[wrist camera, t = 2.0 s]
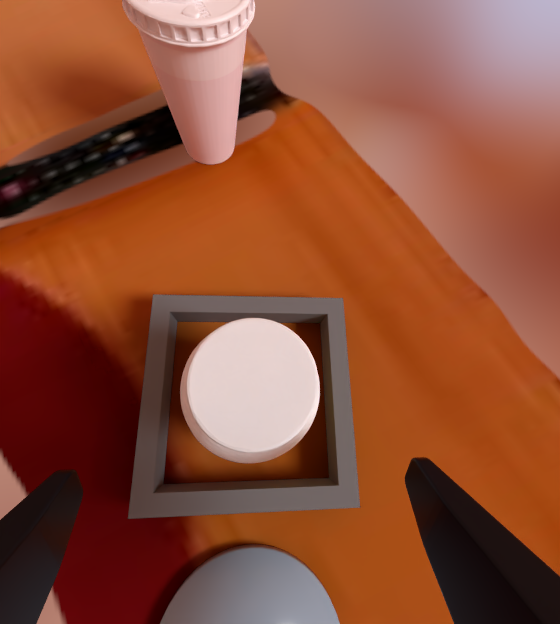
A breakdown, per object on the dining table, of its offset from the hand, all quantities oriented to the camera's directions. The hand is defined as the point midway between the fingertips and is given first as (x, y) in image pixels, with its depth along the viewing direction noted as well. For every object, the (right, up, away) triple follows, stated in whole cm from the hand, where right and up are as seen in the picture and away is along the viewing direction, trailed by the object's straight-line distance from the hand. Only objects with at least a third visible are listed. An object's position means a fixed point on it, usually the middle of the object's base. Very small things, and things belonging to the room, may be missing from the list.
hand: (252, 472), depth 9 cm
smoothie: (-5, +17, +15) cm, 23 cm away
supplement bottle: (-1, -1, +10) cm, 10 cm away
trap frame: (-1, -1, +10) cm, 10 cm away
